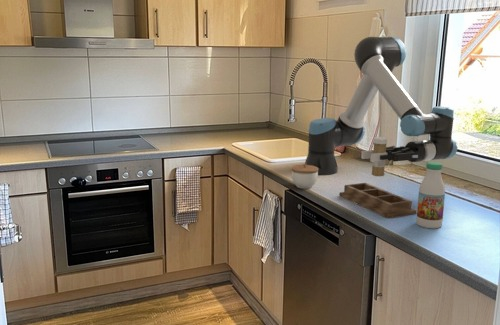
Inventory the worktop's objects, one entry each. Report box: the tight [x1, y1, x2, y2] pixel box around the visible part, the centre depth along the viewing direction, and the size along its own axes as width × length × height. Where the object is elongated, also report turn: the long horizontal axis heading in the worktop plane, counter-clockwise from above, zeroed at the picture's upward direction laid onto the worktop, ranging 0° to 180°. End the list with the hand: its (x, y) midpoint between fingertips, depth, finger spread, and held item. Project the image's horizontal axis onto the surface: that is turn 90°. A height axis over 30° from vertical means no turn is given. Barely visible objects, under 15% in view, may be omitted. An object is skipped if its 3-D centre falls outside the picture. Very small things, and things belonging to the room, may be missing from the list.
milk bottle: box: [415, 161, 446, 229], centre depth 154 cm, size 8×8×20 cm
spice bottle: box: [371, 136, 388, 177], centre depth 173 cm, size 5×5×13 cm
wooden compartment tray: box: [338, 182, 417, 219], centre depth 177 cm, size 28×12×4 cm, turn 24°
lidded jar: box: [290, 163, 319, 190], centre depth 198 cm, size 11×11×9 cm
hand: (366, 156), depth 171 cm, fingers closed on spice bottle, 4 cm apart
